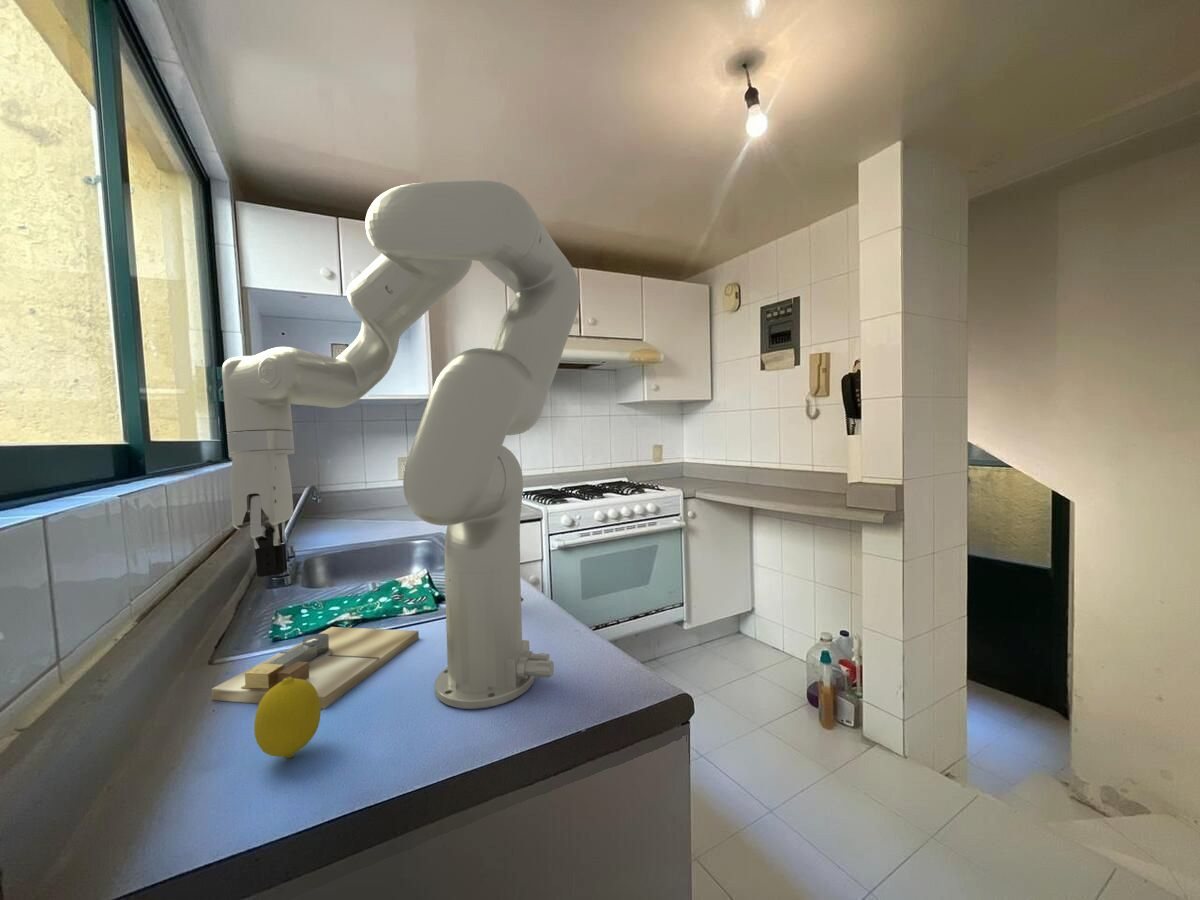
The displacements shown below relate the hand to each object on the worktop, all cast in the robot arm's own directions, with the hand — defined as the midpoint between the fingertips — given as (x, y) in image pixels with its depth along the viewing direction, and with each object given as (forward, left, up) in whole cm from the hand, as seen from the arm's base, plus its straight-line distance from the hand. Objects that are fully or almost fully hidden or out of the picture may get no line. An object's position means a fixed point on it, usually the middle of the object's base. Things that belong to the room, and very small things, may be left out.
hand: (272, 573), depth 64 cm
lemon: (-18, +16, -14) cm, 28 cm away
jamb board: (-7, -2, -14) cm, 15 cm away
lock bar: (-5, +2, -12) cm, 13 cm away
